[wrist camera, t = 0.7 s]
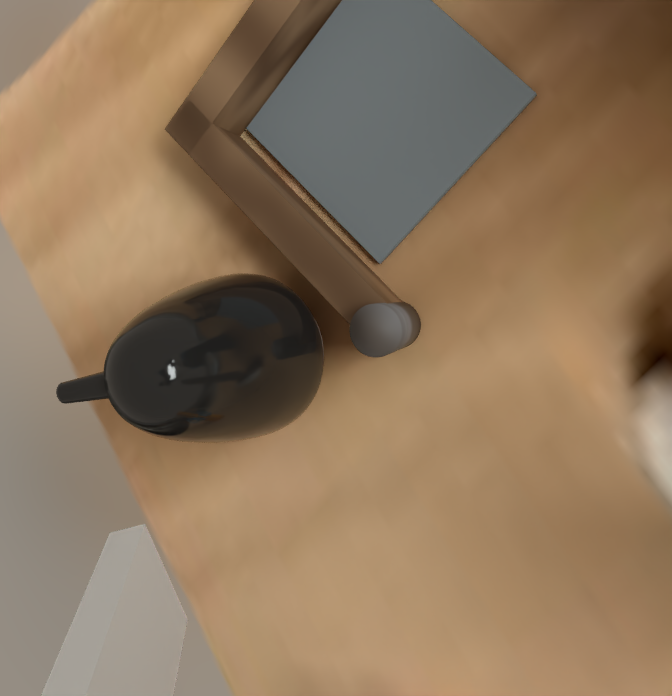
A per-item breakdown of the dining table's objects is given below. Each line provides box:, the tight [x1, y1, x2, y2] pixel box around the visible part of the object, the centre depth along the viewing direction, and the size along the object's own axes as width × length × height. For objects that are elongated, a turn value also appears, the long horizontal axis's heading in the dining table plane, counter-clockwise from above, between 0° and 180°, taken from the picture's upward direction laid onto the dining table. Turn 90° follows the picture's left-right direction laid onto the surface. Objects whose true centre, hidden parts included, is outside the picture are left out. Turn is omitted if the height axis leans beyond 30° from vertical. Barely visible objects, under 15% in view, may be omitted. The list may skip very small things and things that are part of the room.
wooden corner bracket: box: [165, 0, 421, 357], centre depth 34 cm, size 18×21×5 cm
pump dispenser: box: [56, 274, 324, 443], centre depth 34 cm, size 10×10×15 cm
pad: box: [246, 0, 537, 264], centre depth 36 cm, size 13×13×1 cm
